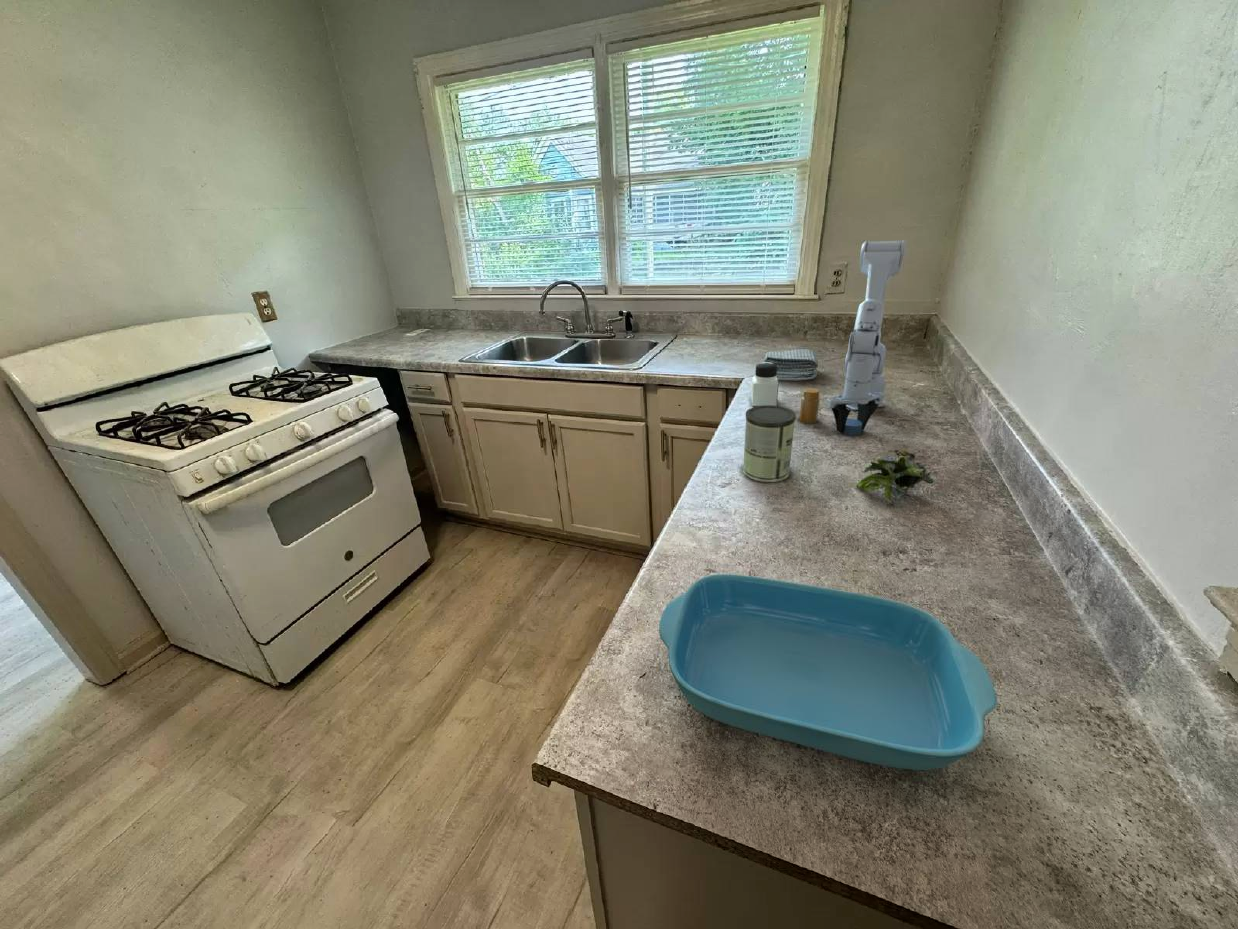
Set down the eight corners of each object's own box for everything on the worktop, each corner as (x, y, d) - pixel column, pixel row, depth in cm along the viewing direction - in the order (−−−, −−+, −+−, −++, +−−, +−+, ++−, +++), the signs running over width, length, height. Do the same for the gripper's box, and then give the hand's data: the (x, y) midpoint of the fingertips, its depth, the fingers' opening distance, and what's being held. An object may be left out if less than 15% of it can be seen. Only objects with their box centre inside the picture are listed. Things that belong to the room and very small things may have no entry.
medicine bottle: (776, 406, 146) (780, 367, 141) (751, 406, 148) (754, 367, 142) (774, 398, 153) (778, 360, 147) (751, 398, 154) (753, 360, 149)
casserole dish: (950, 645, 66) (964, 605, 63) (1011, 822, 47) (1036, 778, 44) (679, 598, 77) (678, 562, 74) (640, 727, 58) (637, 685, 55)
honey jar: (806, 415, 139) (810, 386, 135) (820, 420, 135) (824, 390, 131) (795, 420, 137) (798, 390, 133) (809, 424, 133) (813, 394, 129)
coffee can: (744, 459, 117) (748, 403, 111) (790, 463, 114) (796, 406, 108) (739, 480, 109) (743, 420, 102) (788, 485, 106) (795, 424, 99)
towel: (817, 381, 164) (820, 358, 161) (760, 380, 169) (762, 357, 165) (813, 368, 177) (816, 346, 174) (761, 367, 182) (762, 346, 178)
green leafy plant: (892, 510, 104) (940, 471, 98) (895, 529, 95) (948, 487, 89) (849, 474, 106) (894, 434, 100) (848, 490, 97) (897, 446, 91)
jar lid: (834, 429, 130) (835, 420, 129) (852, 426, 131) (853, 417, 130) (847, 436, 125) (848, 427, 124) (865, 433, 126) (867, 424, 125)
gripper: (840, 387, 117) (833, 439, 123) (895, 380, 119) (885, 432, 125) (824, 379, 123) (817, 429, 129) (876, 372, 125) (867, 422, 131)
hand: (849, 430), depth 128 cm, fingers closed on jar lid, 5 cm apart
